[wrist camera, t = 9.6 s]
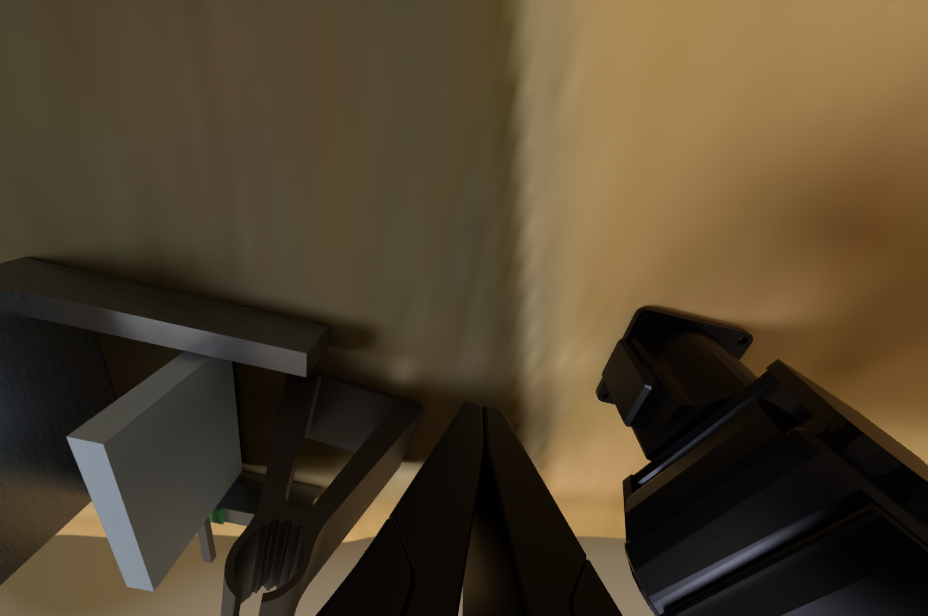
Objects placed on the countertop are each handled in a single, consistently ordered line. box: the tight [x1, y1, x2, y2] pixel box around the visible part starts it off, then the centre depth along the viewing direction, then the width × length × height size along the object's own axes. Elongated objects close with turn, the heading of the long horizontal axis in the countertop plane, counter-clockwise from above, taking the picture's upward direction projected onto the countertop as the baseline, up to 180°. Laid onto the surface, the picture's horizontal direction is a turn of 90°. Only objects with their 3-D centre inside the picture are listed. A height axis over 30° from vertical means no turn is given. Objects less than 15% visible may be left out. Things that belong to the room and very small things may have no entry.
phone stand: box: [221, 369, 423, 616], centre depth 19 cm, size 9×6×12 cm, turn 70°
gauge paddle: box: [66, 351, 242, 592], centre depth 22 cm, size 2×18×8 cm, turn 167°
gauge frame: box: [0, 257, 330, 585], centre depth 21 cm, size 18×17×9 cm
